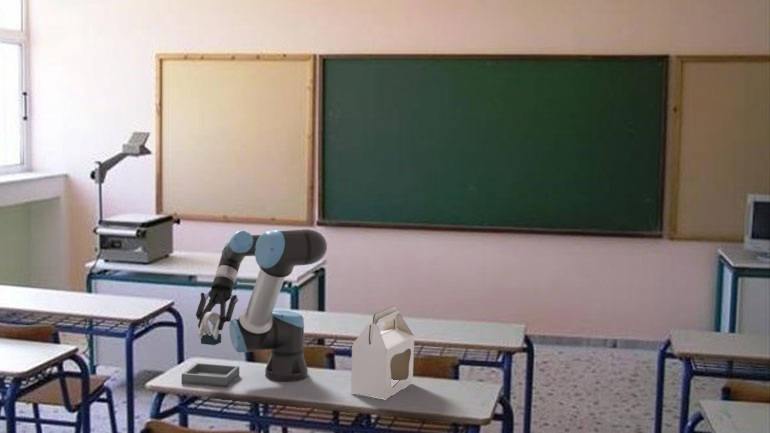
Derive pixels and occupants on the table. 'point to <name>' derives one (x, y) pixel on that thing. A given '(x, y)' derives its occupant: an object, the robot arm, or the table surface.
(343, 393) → the table surface
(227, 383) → the tray
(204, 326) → the watch
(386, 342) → the gable box
